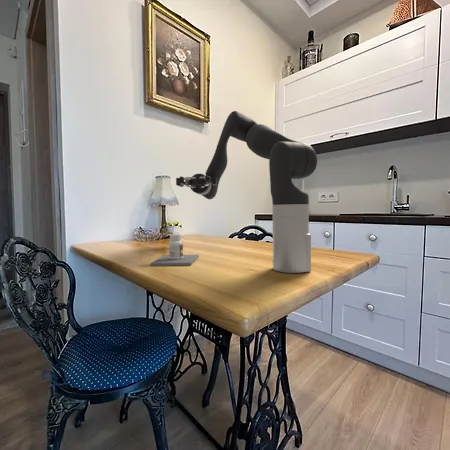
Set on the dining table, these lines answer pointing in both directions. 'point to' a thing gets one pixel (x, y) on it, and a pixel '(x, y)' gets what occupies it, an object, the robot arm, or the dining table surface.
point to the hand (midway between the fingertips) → (193, 179)
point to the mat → (175, 261)
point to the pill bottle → (175, 247)
